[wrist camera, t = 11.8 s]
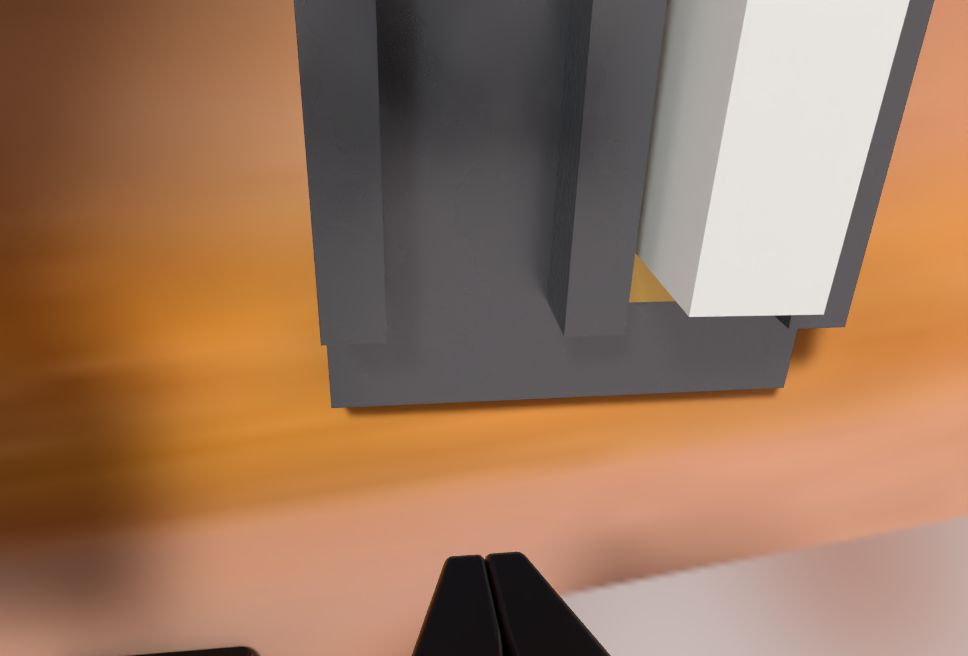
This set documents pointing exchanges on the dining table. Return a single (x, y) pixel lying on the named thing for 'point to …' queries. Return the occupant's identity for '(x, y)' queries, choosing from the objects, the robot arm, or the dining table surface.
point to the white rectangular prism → (761, 148)
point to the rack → (517, 205)
